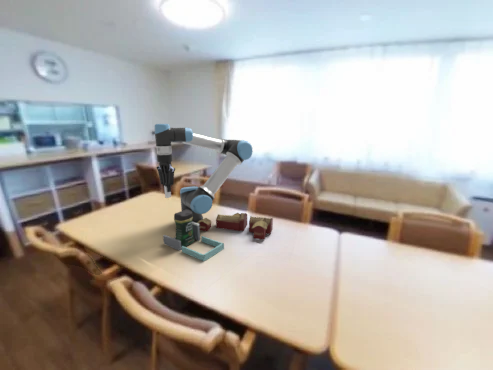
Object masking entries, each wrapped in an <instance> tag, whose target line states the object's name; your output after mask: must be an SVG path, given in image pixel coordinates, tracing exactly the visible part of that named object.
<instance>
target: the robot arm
mask: <svg viewBox="0 0 493 370" xmlns="http://www.w3.org/2000/svg"><path fill="white" fill-rule="evenodd" d="M154 140H155V148H156V154H157V155H156V161H157V162H158V166H156V170H157V172H158V178H159V182H160V184H161V185H163V189H164V190H163V191H164V198H166V199H169V198H171V197H172V188H171V186H173V185H174V179H175V171H176V167H173V165H172V162H173V155H172V154H173V150H172V143H181V144H185V145H189V146H193V147H199V148H202V149H207V150H212V151H216V152H217V153H218V154H221V155H224V156H226V157H225V158H223V160H222V161H221V163H219V165H218V166H217V168H216V169H215V171H214V172H213V173H212V174H211V175H210V177H209V178H208V179H207V180H206V181H205V182H204V184H203V185H201V186H196V185H195V186H194V185H193V186H187V187H186V186H185V187H181V188H180V190H179V194H180V195H179V197H180V209H181V211H183V210H186V209H187V210H191V211H192V215H193V219H192V222H195V223H198V222H199V221H200V220H202V219H204V217H203V214H207V213H209V212H210V210H211V209H212V206H213V201H214V200H215V194H216V193H217V192H218V190H219V189H220V188H221V187H222V185H223V184H224V183H225V182H226V180H227V178H228V177H229V176H230V175H231V174H232V173H233V171H234V170H235V169H236V167H238V166H240V165H242V164H243V162H244V161H246V160H249V159H251V157H252V155H253V153H254V151H253V146H252V144H251V143H250V142H249V141H248V140H244V139H241V140H240V139H239V140H238V139H224V138H219V139H218V138H215V137H210V136H206V135H203V134H199V133H195V132H193V129H192V128H190V127H171V126H170V124H169V123H156V124H154ZM181 211H180V212H181Z"/></svg>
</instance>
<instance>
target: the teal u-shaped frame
mask: <svg viewBox="0 0 493 370" xmlns="http://www.w3.org/2000/svg"><path fill="white" fill-rule="evenodd" d="M200 241H201V242H202V243H205V244H207V245H210V246H212V247H213V246H214V248H211V249H210V250H209V251H207V252H205V253H201V252H199V251H197V250H193V249H191V248H188V247H187V246H186V247H184V246H182V247H181V248H182V250H181V253H183V254H186V255H188V256H191V257H193V258H195V259H197V260H199V261H202V262H205V261H207V260H209V259H210V258H211V257H213V256H215V255H216V254H218V253H220V252H221V251H222V250H224V249H225V244H224V242H221V241H219V240H215V239H212V238H209V237H206V236H201V235H200Z"/></svg>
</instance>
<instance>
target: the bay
mask: <svg viewBox="0 0 493 370" xmlns="http://www.w3.org/2000/svg"><path fill="white" fill-rule="evenodd" d="M192 228H193V235H194V241H198V242H200V241H201V231H200V228H199V224H198V223H195V222H192ZM162 239H163V244H164V245H165V246H167V247H169V248H172V249H174V250H176V251H178V252H182V248H181V241H179V240H177V239H176V236H175V237H172V236H169V235H166V234H163V235H162Z"/></svg>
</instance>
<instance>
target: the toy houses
mask: <svg viewBox="0 0 493 370" xmlns="http://www.w3.org/2000/svg"><path fill="white" fill-rule="evenodd" d="M273 220H274V219H273V217H262V216H250V217H249V221H248V213H246V212H241V213H239V212H236V213H234V214H232V215H231V214H217V216H216V218H215V227H216V229H221V230H229V231H236V232H240V231H241V232H245V230H246V228H247V226H248V232H250V233H253V239H254V240H255V239H256V240H265V239H266V235H267V234H268V235H271V234H272V231H273V228H274V227H273V224H274V223H273V222H274V221H273ZM212 223H213V221H212V220H210V219H209V218H207V217H205V218H204V217H203V219H202V220H200V221H199V222H198V224H199V228H200V232H201V231H202V232H209V231H210V229H211V228H212Z"/></svg>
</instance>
